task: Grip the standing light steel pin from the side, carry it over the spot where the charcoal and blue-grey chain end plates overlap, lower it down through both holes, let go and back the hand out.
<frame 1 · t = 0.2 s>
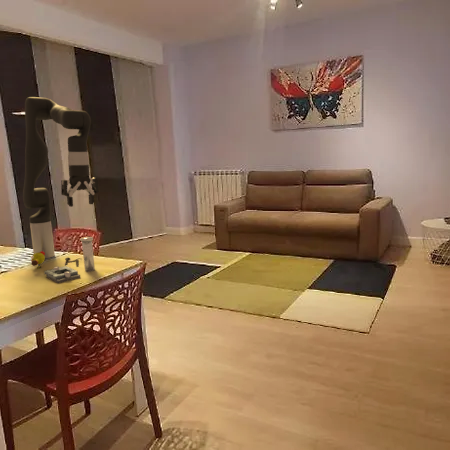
hand: (81, 205, 161), 29 cm above the table, tool pointing down, fingers open, 8 cm apart
chain end upper: (62, 277, 164), on the table
chain end lower: (63, 273, 163), in the chain end upper
hacksaw: (76, 266, 182), on the table
toy figure: (39, 268, 179), on the table
steel pin: (89, 270, 173), on the table
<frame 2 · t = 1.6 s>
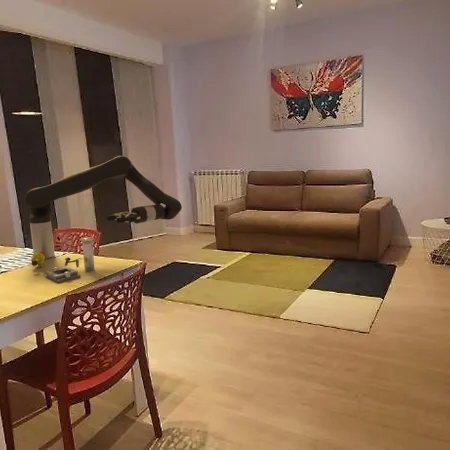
hand: (111, 219, 177), 20 cm above the table, tool horizontal, fingers open, 8 cm apart
nothing on the table moved.
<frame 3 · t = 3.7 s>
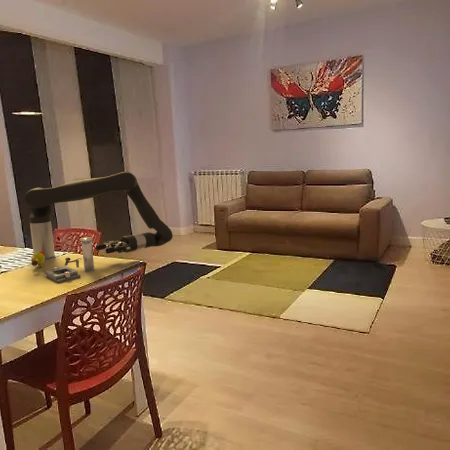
hand: (101, 249, 175), 8 cm above the table, tool horizontal, fingers open, 8 cm apart
nothing on the table moved.
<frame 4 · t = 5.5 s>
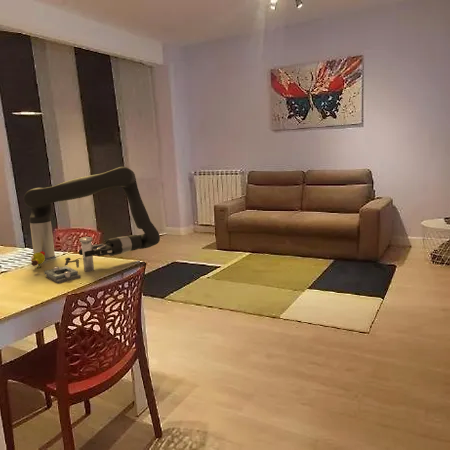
hand: (82, 253, 169), 8 cm above the table, tool horizontal, fingers closed on steel pin, 4 cm apart
steel pin: (89, 270, 173), on the table, touching gripper
everything else where it was.
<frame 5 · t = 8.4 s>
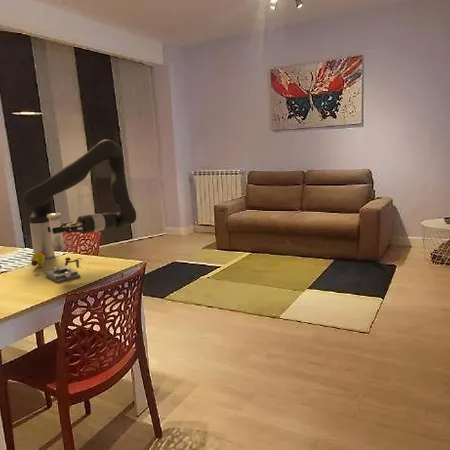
hand: (50, 230, 159), 20 cm above the table, tool horizontal, fingers closed on steel pin, 4 cm apart
steel pin: (58, 248, 162), point 12 cm above the table, touching gripper
everything else where it was.
when the fingers open (9 cm above the table, at t = 11.2 s): steel pin drops 1 cm, on the table.
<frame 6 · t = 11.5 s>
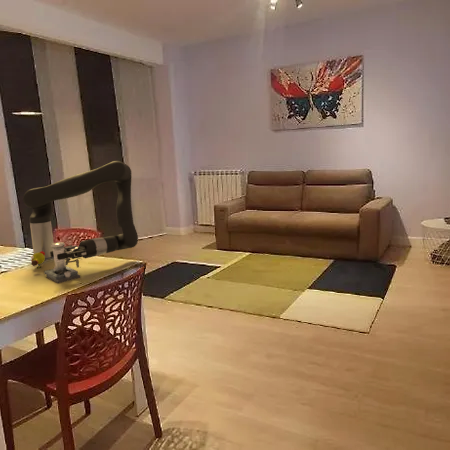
hand: (54, 255, 161), 10 cm above the table, tool horizontal, fingers open, 6 cm apart
steel pin: (62, 277, 164), on the table
everything else where it was.
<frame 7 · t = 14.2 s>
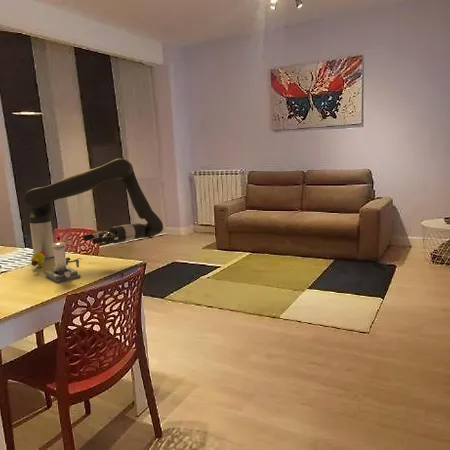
hand: (88, 239, 171), 13 cm above the table, tool horizontal, fingers open, 8 cm apart
nothing on the table moved.
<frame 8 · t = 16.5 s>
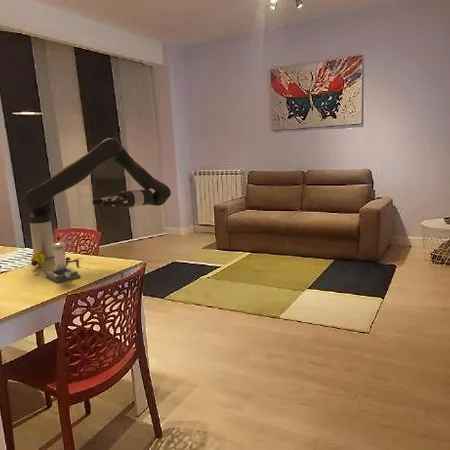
hand: (97, 203, 172), 28 cm above the table, tool horizontal, fingers open, 8 cm apart
nothing on the table moved.
at the end: steel pin 0.4 cm off-centre on the chain end lower, point 0.0 cm above the chain end lower's base; steel pin tilted 0°; the gripper is holding nothing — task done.
